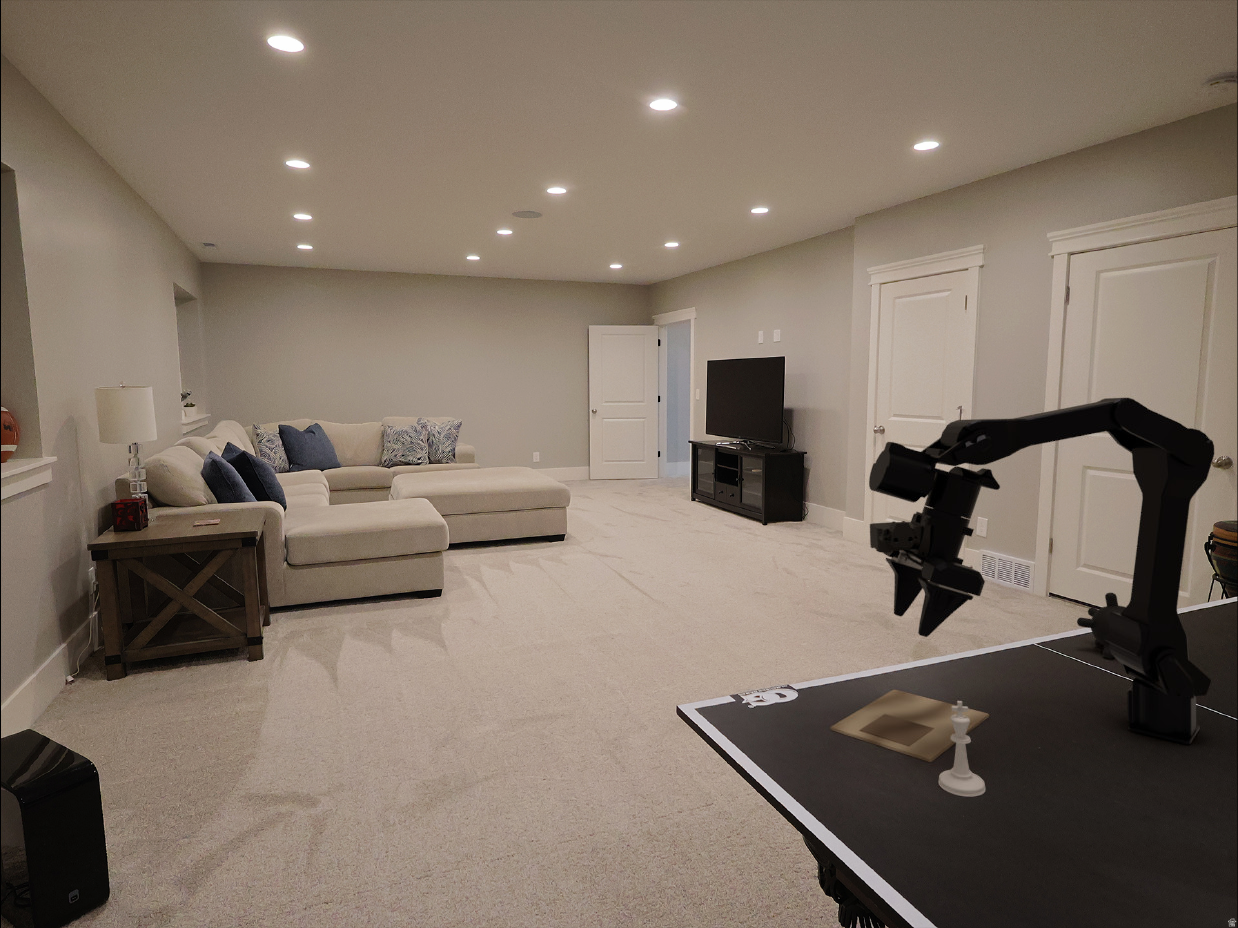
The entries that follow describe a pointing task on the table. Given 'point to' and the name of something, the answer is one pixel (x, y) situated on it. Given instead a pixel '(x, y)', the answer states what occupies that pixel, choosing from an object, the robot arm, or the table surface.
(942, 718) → the board
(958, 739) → the chess piece
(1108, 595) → the knobbed dark ball
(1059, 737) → the table surface
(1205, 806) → the table surface
